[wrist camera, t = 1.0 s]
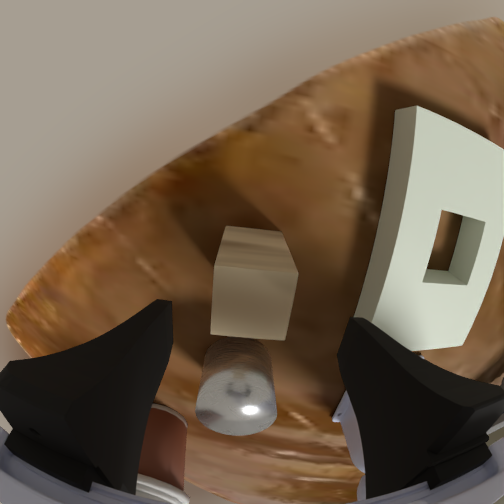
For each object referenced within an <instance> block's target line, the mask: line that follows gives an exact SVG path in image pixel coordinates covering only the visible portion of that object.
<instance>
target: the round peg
mask: <svg viewBox="0 0 504 504" xmlns="http://www.w3.org/2000/svg"><path fill="white" fill-rule="evenodd" d="M195 412H196V416H197V418H198V419H199V421H200V422H201V423H202V424H203V425H205V426H206V427H208V428H209V429H211V430H213V431H216V432H219V433H223V434H227V435H249V434H254V433H257V432H260V431H262V430H265V429H266V428H268V427H269V426H270V425H272V423H273V422H274V421H275V419H276V416H277V408H276V399H275V389H274V379H273V370H272V360H271V355H270V353H269V351H268V350H267V348H266V347H265V346H264V345H262V344H261V343H260V342H258V341H256V340H254V339H251V338H244V337H227V338H223V339H221V340H218V341H216V342H215V343H213V344H212V345H211V346H210V347H209V348H208V350H207V352H206V354H205V359H204V364H203V370H202V375H201V381H200V386H199V392H198V397H197V403H196V410H195Z"/></svg>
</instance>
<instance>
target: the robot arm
mask: <svg viewBox="0 0 504 504" xmlns="http://www.w3.org/2000/svg"><path fill="white" fill-rule="evenodd" d="M172 345H173V324H172V301H167V300H160V299H157V300H155V301H154V302H152V303H151V304H149V305H148V306H147V307H145V308H144V309H142V310H141V311H140V312H138V313H137V314H135V315H134V316H132V317H131V318H129V319H128V320H126V321H125V322H123V323H122V324H120V325H118V326H117V327H115V328H113V329H112V330H110V331H109V332H107V333H105V334H103V335H101V336H99V337H97V338H95V339H93V340H91V341H89V342H86V343H84V344H81V345H79V346H76V347H73V348H70V349H68V350H65V351H62V352H58V353H54V354H51V355H46V356H42V357H37V358H31V359H24V360H15V361H10V362H9V363H8V364H7V365H6V367H5V368H4V369H3V370H2V371H1V372H0V411H1V412H2V413H3V415H4V417H5V418H6V419H7V421H8V422H9V423H10V425H11V426H12V428H13V430H12V431H11V433H10V434H8V433H7V432H6V431H5V430H4V429H3V428H2V427H0V502H1V503H2V504H172V503H166V502H162V501H157V500H152V499H148V498H144V497H140V496H136V486H137V477H138V469H139V462H140V456H141V450H142V445H143V440H144V435H145V430H146V426H147V421H148V417H149V413H150V410H151V407H152V404H153V401H154V398H155V396H156V393H157V390H158V388H159V385H160V383H161V380H162V378H163V375H164V372H165V370H166V367H167V365H168V362H169V358H170V354H171V349H172ZM337 358H338V363H339V368H340V373H341V376H342V379H343V382H344V385H345V388H346V391H345V393H344V395H343V397H342V399H341V401H340V403H339V405H338V407H337V409H336V411H335V413H334V415H333V417H332V421H333V422H341V425H342V429H343V432H344V435H345V439H346V442H347V446H348V449H349V453H350V456H351V459H352V462H353V463H354V465H355V466H356V467H357V468H358V469H359V470H360V471H362V472H364V473H365V475H364V476H363V477H362V478H361V479H360V482H359V485H358V488H357V499H358V501H357V502H352V503H347V504H493V503H495V502H496V501H497V500H499V499H500V498H501V497H502V496H504V437H503V438H501V439H499V440H498V441H496V442H494V443H493V444H492V445H490V446H489V447H488V446H487V445H486V443H485V442H487V441H488V440H489V436H488V435H487V433H486V432H487V431H488V430H489V429H490V428H491V427H492V426H493V424H494V423H495V422H496V421H497V420H498V418H499V417H500V416H501V415H502V413H503V412H504V390H503V389H502V388H501V387H500V386H499V385H493V384H488V383H483V382H479V381H475V380H472V379H468V378H465V377H462V376H459V375H457V374H454V373H452V372H449V371H447V370H445V369H442V368H440V367H438V366H436V365H434V364H432V363H430V362H429V361H427V360H425V359H424V357H423V356H422V355H420V356H418V355H416V354H415V353H413V352H412V351H410V350H409V349H407V348H406V347H404V346H403V345H401V344H400V343H399V342H397V341H396V340H394V339H393V338H392V337H390V336H389V335H388V334H386V333H385V332H384V331H382V330H381V329H380V328H378V327H377V326H375V325H374V324H373V323H371V322H370V321H368V320H366V319H365V318H363V317H350V319H349V322H348V325H347V328H346V331H345V334H344V337H343V339H342V342H341V345H340V348H339V351H338V353H337Z"/></svg>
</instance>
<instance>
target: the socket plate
mask: <svg viewBox="0 0 504 504" xmlns="http://www.w3.org/2000/svg"><path fill="white" fill-rule="evenodd" d="M441 210H445V211H449V212H453V213H456V214H460V215H463V219H462V223H461V227H460V231H459V235H458V239H457V243H456V247H455V250H454V254H453V257H452V260H451V264H450V267H449V270H448V271H441V270H432V269H426V268H427V265H428V262H429V258H430V255H431V251H432V248H433V244H434V240H435V236H436V232H437V228H438V224H439V219H440V215H441ZM503 237H504V149H502V148H501V147H499V146H497V145H496V144H494V143H492V142H491V141H489V140H487V139H486V138H484V137H482V136H480V135H478V134H477V133H475V132H473V131H471V130H469V129H467V128H465V127H463V126H461V125H459V124H457V123H455V122H453V121H451V120H449V119H447V118H445V117H443V116H440V115H438V114H436V113H434V112H431V111H429V110H427V109H424V108H422V107H419V106H412V107H407V108H403V109H398V110H395V119H394V129H393V139H392V147H391V155H390V162H389V169H388V176H387V182H386V188H385V193H384V199H383V204H382V209H381V214H380V219H379V224H378V229H377V233H376V238H375V242H374V246H373V250H372V254H371V258H370V262H369V266H368V270H367V274H366V277H365V281H364V284H363V288H362V291H361V295H360V298H359V301H358V305H357V308H356V311H355V314H354V317H363V318H365V319H366V320H368V321H370V322H371V323H373V324H374V325H375V326H377V327H378V328H380V329H381V330H382V331H384V332H385V333H386V334H388V335H389V336H390V337H392V338H393V339H394V340H396V341H397V342H399V343H400V344H401V345H403V346H404V347H406V348H407V349H409V350H410V351H417V350H428V349H437V348H446V347H454V346H462V345H463V343H464V341H465V339H466V337H467V335H468V333H469V331H470V329H471V326H472V324H473V322H474V320H475V318H476V315H477V313H478V311H479V308H480V306H481V303H482V301H483V298H484V296H485V293H486V291H487V288H488V285H489V283H490V280H491V277H492V274H493V271H494V268H495V265H496V262H497V258H498V255H499V251H500V248H501V244H502V241H503Z"/></svg>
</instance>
